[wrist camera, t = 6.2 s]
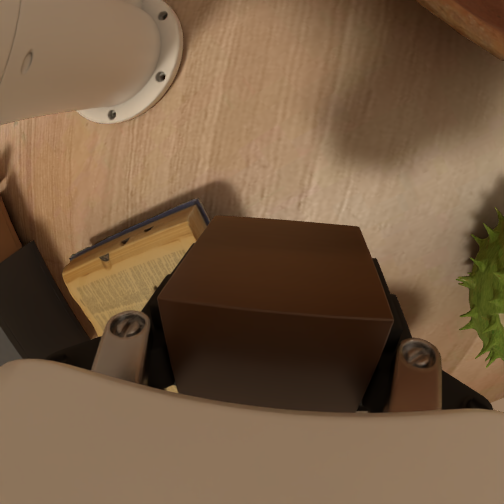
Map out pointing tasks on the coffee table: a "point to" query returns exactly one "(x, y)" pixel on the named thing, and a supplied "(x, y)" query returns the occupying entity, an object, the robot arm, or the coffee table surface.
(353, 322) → the block
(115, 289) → the book
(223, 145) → the coffee table surface
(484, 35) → the bowl
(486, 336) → the chestnut
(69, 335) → the cabinet
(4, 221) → the drawer
